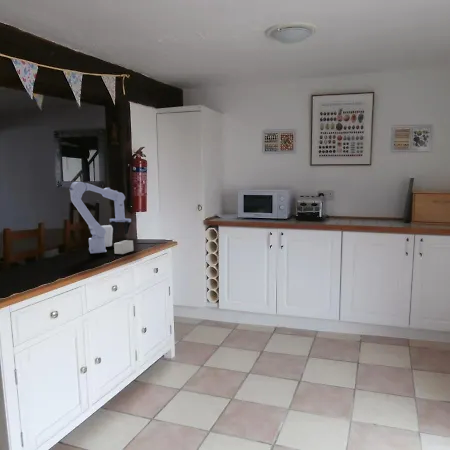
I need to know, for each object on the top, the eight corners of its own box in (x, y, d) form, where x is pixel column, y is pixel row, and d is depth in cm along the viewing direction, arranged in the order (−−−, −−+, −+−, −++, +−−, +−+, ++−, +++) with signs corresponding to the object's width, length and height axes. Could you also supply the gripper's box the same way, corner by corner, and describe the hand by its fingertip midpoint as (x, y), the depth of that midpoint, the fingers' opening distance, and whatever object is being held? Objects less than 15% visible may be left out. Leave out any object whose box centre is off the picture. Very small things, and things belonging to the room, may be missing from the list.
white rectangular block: (125, 250, 254) (124, 240, 253) (133, 250, 251) (132, 240, 251) (114, 253, 244) (113, 243, 243) (123, 253, 242) (122, 243, 241)
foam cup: (111, 246, 267) (110, 226, 266) (97, 247, 268) (95, 227, 266) (115, 244, 277) (114, 225, 275) (102, 244, 277) (100, 225, 275)
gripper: (133, 211, 258) (134, 232, 260) (113, 211, 264) (115, 232, 265) (126, 212, 252) (128, 234, 254) (106, 212, 257) (108, 234, 259)
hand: (121, 233), depth 259 cm, fingers open, 7 cm apart
